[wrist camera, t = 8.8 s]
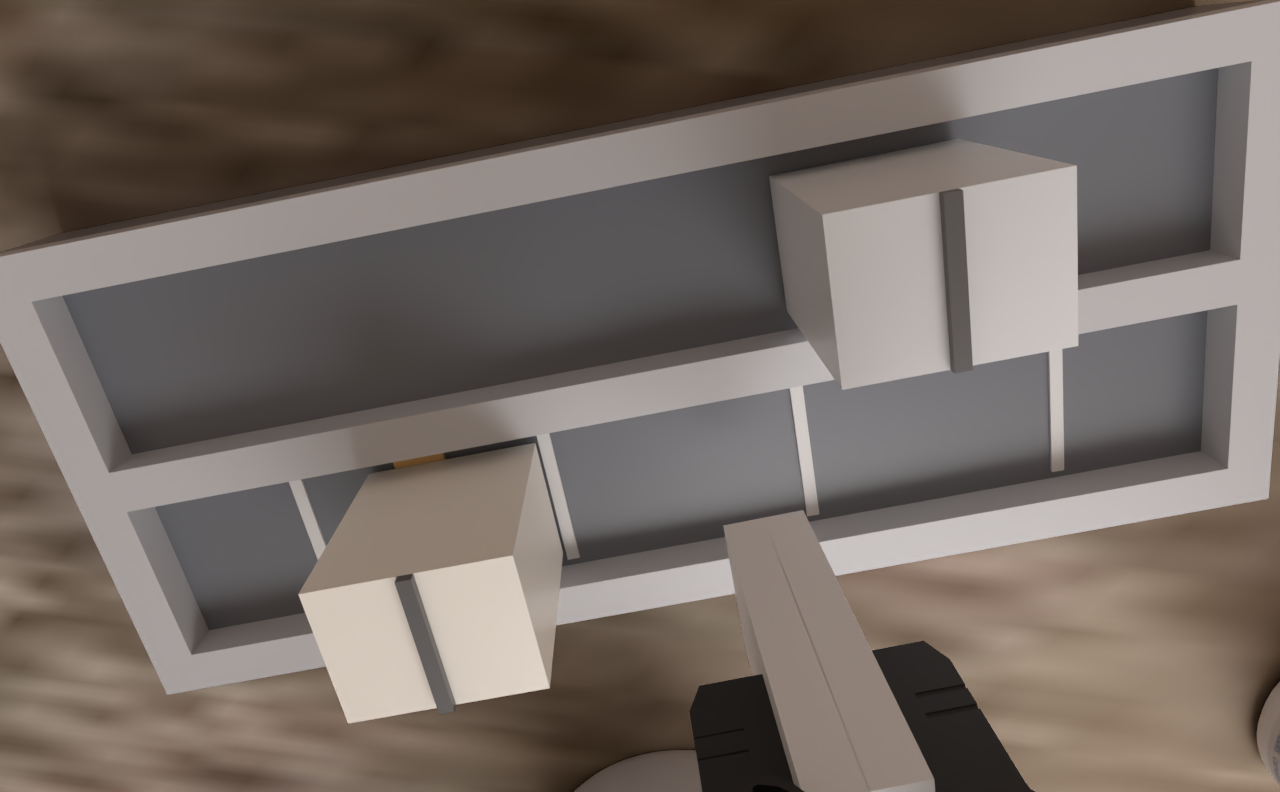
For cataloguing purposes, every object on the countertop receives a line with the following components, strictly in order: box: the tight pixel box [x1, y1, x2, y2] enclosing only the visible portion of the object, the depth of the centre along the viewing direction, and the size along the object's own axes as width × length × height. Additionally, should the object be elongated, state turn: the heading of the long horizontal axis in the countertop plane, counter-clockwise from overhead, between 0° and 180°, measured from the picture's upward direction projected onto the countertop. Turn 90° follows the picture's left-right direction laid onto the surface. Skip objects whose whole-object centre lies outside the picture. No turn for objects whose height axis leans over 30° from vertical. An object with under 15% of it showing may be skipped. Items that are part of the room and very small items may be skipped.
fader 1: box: [298, 443, 563, 724], centre depth 19 cm, size 4×3×5 cm
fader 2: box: [769, 139, 1078, 390], centre depth 17 cm, size 4×3×5 cm
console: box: [0, 0, 1280, 695], centre depth 21 cm, size 27×11×3 cm, turn 101°
